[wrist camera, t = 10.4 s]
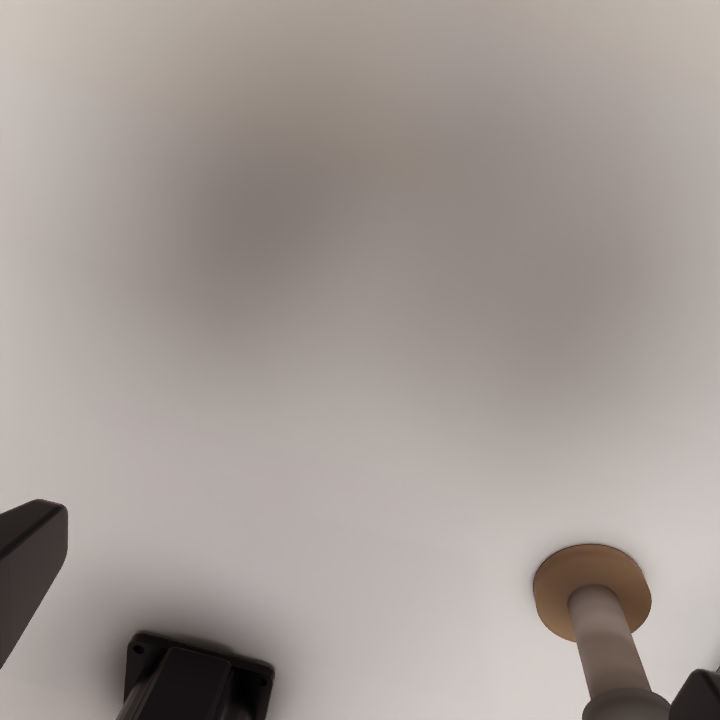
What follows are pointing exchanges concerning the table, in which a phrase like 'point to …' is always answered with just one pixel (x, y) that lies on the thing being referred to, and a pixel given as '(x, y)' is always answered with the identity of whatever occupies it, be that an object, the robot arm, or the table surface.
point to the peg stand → (601, 626)
